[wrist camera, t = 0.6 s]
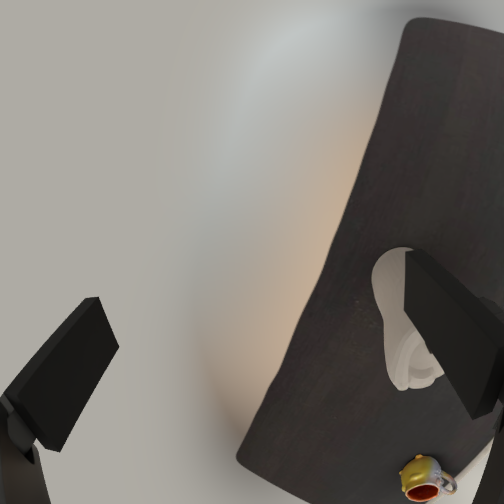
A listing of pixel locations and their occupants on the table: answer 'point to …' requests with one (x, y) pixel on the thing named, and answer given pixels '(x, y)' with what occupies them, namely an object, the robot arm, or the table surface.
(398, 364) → the candle
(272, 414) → the table surface
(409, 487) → the mug
